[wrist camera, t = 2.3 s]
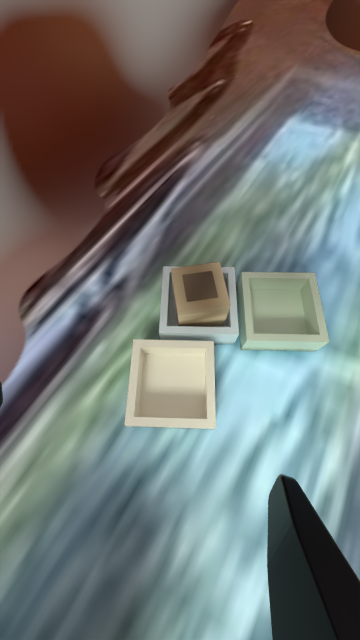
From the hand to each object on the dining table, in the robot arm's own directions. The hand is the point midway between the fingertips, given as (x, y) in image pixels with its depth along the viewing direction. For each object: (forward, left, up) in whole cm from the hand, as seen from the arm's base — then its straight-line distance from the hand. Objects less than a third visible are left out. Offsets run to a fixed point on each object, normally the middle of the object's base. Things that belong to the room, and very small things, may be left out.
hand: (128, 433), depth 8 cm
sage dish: (+10, +10, -14) cm, 19 cm away
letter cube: (+3, +11, -13) cm, 17 cm away
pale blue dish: (+3, +11, -14) cm, 17 cm away
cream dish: (+1, +4, -14) cm, 14 cm away
